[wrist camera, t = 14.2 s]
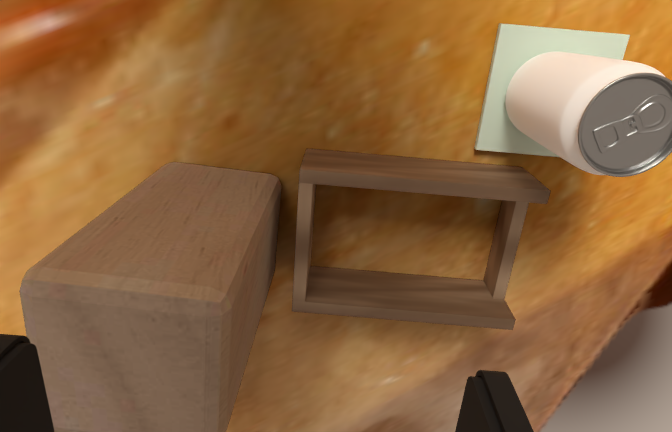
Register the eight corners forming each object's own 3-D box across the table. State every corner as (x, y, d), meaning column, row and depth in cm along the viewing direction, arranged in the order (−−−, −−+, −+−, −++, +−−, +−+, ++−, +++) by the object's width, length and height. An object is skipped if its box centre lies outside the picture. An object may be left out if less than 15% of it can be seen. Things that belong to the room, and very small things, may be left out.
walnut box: (306, 148, 39) (299, 169, 33) (522, 167, 39) (550, 190, 34) (299, 274, 44) (291, 311, 38) (492, 290, 44) (512, 329, 38)
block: (284, 171, 40) (227, 301, 21) (275, 274, 44) (221, 459, 25) (166, 157, 40) (5, 275, 21) (168, 261, 43) (33, 438, 25)
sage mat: (499, 23, 35) (501, 23, 34) (625, 34, 35) (629, 34, 34) (474, 148, 39) (476, 149, 38) (588, 157, 39) (592, 159, 38)
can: (600, 110, 37) (709, 149, 26) (521, 150, 38) (592, 203, 27) (572, 33, 35) (678, 39, 23) (490, 78, 36) (553, 104, 25)
